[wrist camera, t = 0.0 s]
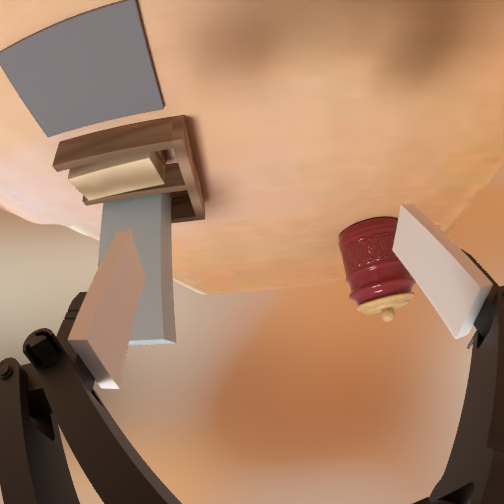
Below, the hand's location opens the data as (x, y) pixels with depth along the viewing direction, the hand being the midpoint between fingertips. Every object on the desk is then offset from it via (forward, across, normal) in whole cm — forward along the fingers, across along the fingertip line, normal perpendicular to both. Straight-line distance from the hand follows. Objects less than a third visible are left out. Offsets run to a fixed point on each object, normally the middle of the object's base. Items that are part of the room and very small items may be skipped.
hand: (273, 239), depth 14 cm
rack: (+20, -12, -2) cm, 24 cm away
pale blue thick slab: (+22, -13, -5) cm, 26 cm away
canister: (+35, +24, -22) cm, 47 cm away
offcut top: (+17, -13, 0) cm, 22 cm away
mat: (+12, -13, +10) cm, 20 cm away
